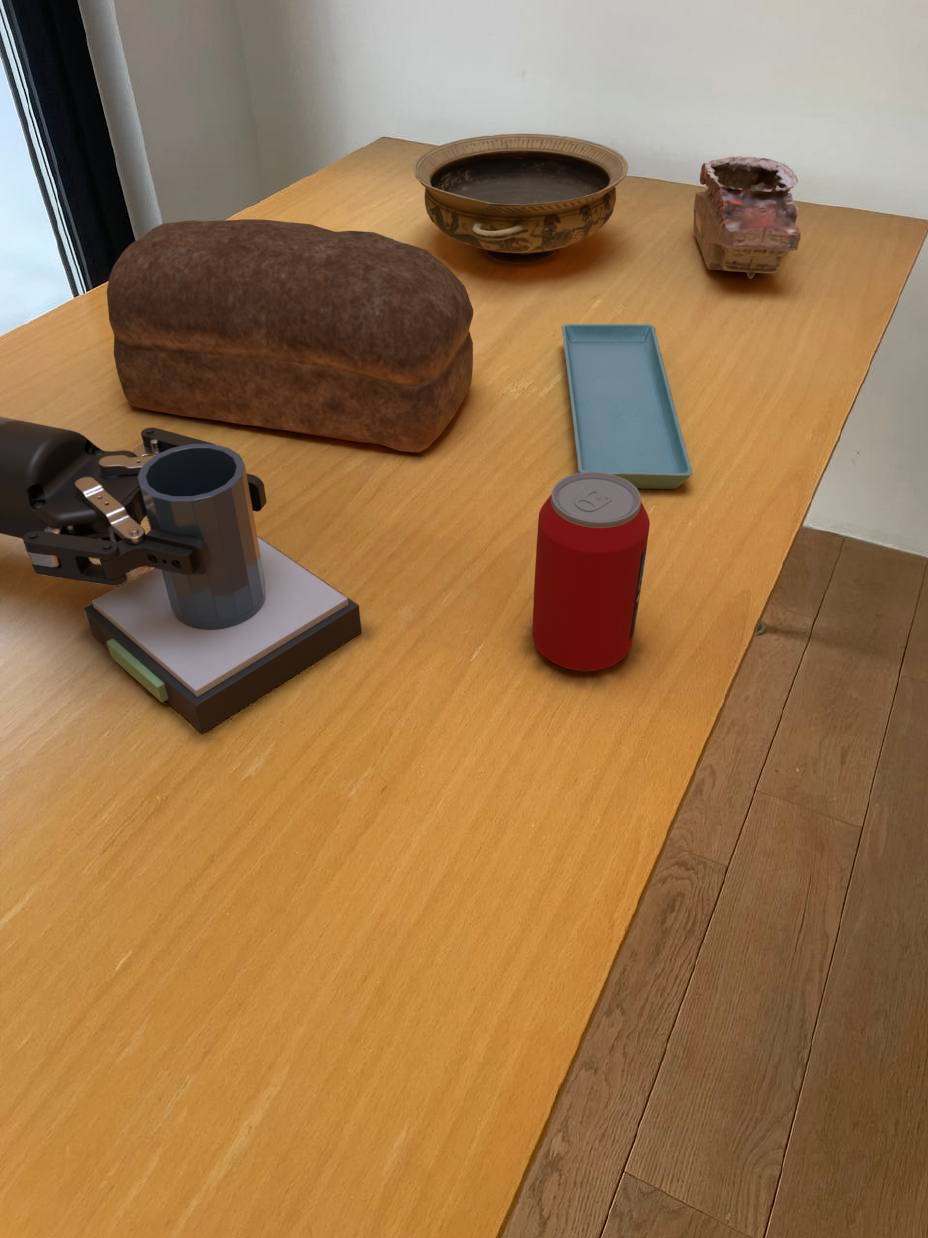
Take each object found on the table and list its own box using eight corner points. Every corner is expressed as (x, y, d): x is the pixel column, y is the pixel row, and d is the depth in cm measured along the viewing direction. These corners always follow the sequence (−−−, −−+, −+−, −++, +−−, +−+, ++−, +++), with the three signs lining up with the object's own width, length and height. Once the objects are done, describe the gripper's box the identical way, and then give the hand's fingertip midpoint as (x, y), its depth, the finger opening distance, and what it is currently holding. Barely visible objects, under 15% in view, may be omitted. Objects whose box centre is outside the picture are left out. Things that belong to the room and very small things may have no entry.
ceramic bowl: (451, 200, 133) (450, 118, 126) (633, 215, 128) (642, 131, 122) (383, 293, 111) (377, 199, 104) (599, 315, 106) (608, 219, 100)
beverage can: (652, 645, 68) (676, 497, 60) (585, 695, 64) (602, 544, 56) (577, 598, 71) (590, 453, 64) (510, 643, 68) (515, 494, 60)
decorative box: (799, 237, 123) (817, 152, 116) (817, 306, 108) (839, 214, 101) (689, 231, 124) (701, 147, 118) (692, 299, 109) (706, 208, 103)
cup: (207, 643, 63) (176, 513, 57) (152, 599, 67) (117, 471, 60) (285, 598, 67) (265, 470, 60) (229, 557, 70) (204, 432, 63)
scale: (195, 738, 62) (186, 703, 60) (85, 639, 68) (73, 604, 66) (361, 632, 69) (358, 598, 67) (247, 551, 76) (241, 518, 74)
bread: (439, 466, 84) (435, 282, 74) (105, 410, 92) (59, 235, 81) (487, 385, 95) (490, 214, 84) (184, 340, 102) (152, 177, 92)
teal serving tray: (690, 496, 81) (695, 469, 79) (576, 495, 81) (579, 469, 80) (651, 347, 101) (654, 323, 99) (559, 346, 101) (561, 323, 99)
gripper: (-91, 487, 58) (160, 544, 54) (61, 375, 69) (282, 415, 64) (-47, 587, 63) (186, 646, 59) (89, 468, 74) (295, 511, 69)
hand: (235, 525), depth 62 cm, fingers closed on cup, 6 cm apart
